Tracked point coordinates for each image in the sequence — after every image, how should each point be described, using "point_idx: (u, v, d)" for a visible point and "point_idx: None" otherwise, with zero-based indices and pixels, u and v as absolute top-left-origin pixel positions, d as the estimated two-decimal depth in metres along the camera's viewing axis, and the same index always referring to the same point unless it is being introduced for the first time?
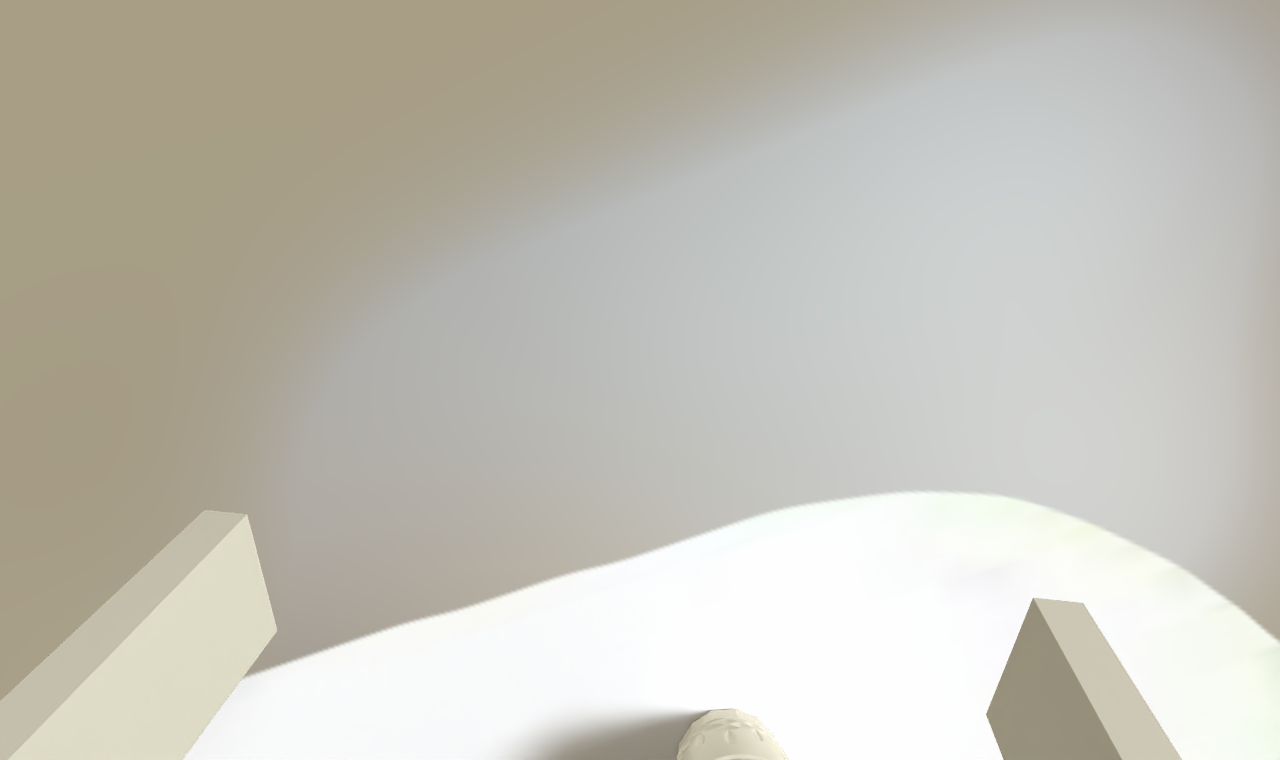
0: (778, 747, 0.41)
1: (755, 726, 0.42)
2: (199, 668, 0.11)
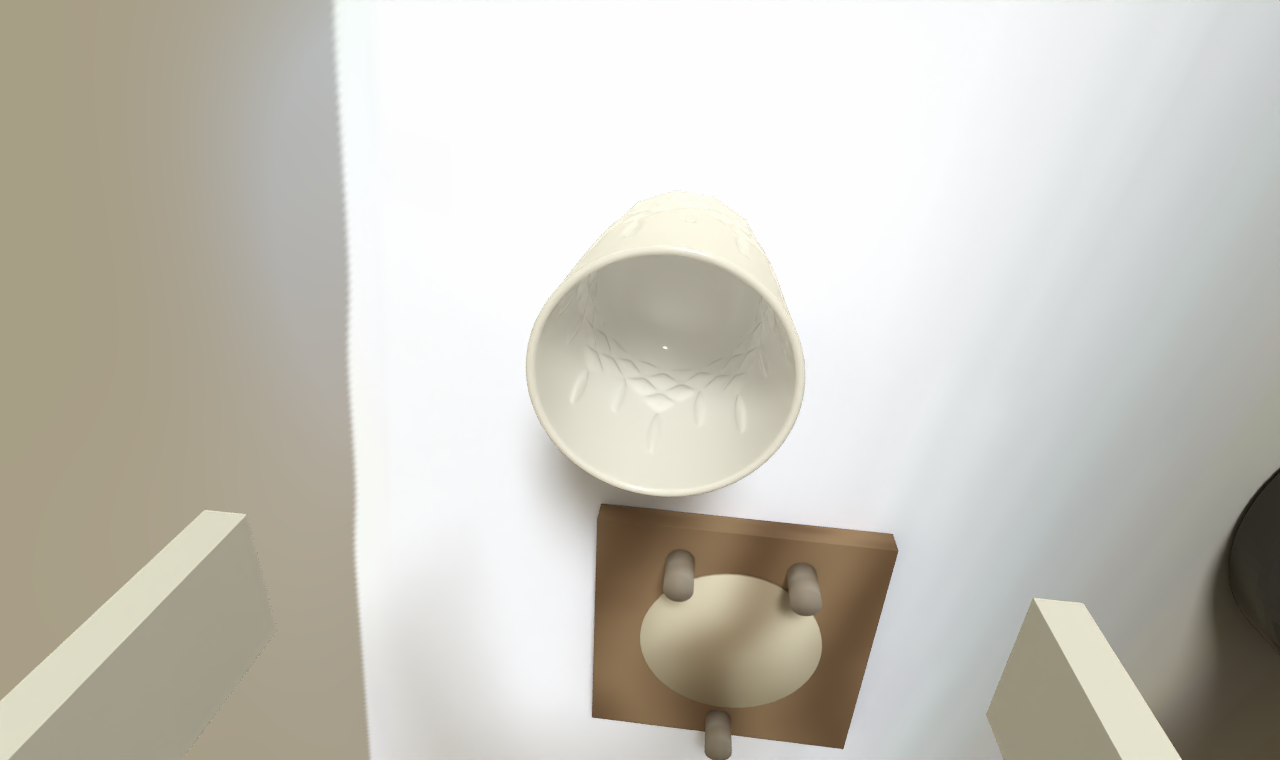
0: (641, 215, 0.23)
1: None
2: (199, 668, 0.11)
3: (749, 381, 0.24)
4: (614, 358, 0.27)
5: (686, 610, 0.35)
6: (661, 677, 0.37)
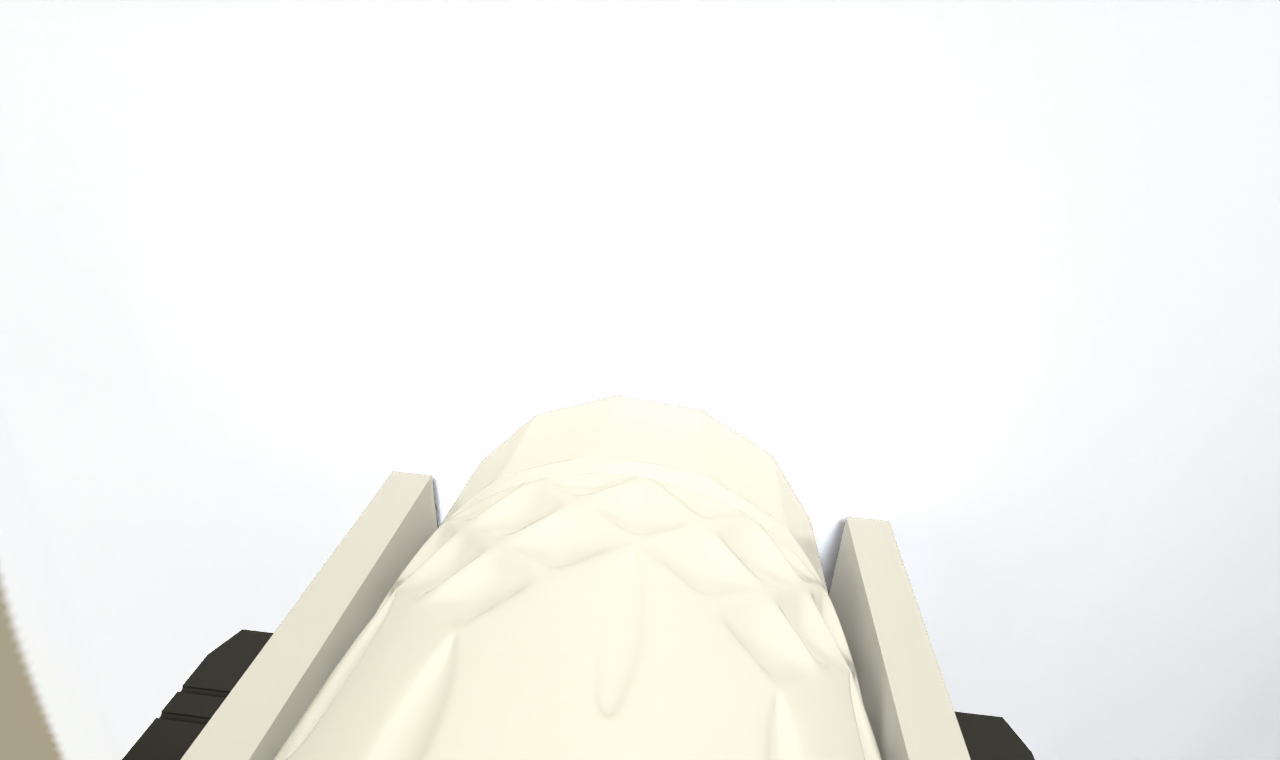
0: (492, 565, 0.08)
1: (445, 534, 0.10)
2: None
3: None
4: None
5: None
6: None
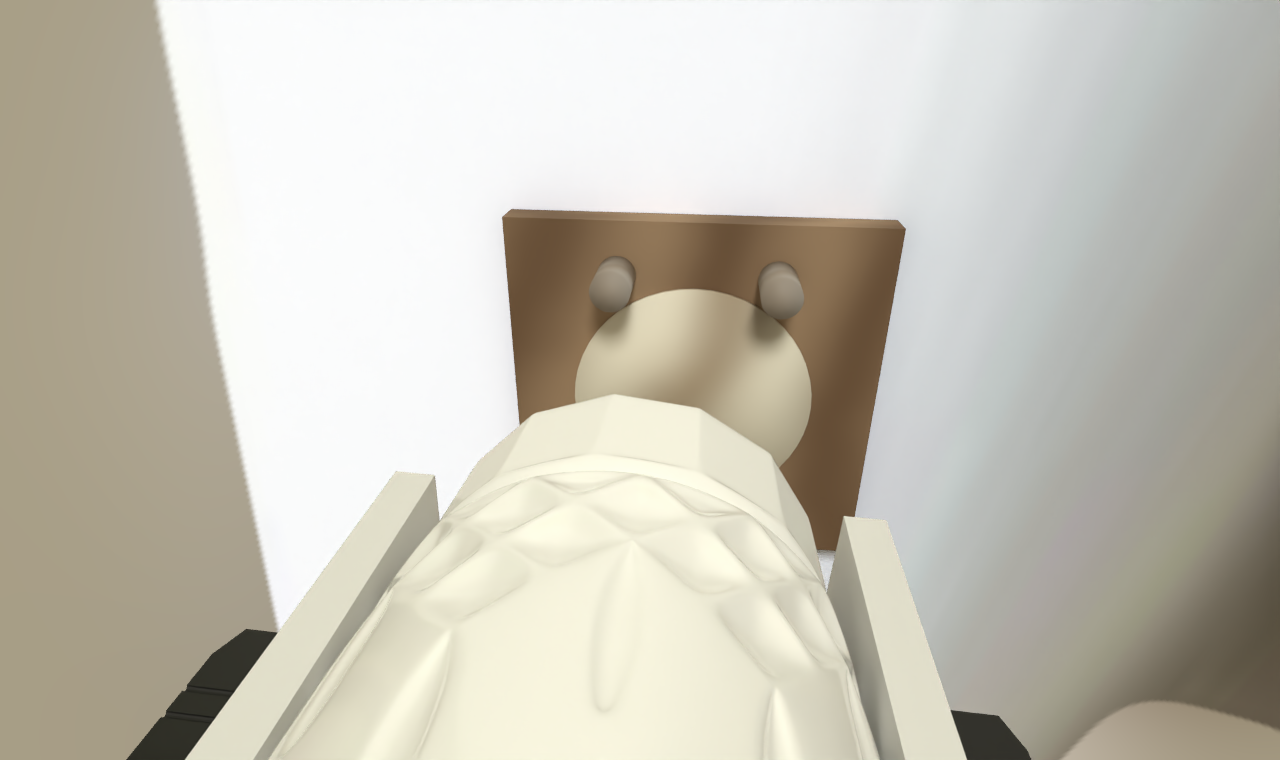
0: (489, 562, 0.08)
1: (442, 532, 0.10)
2: None
3: None
4: None
5: (631, 352, 0.27)
6: None
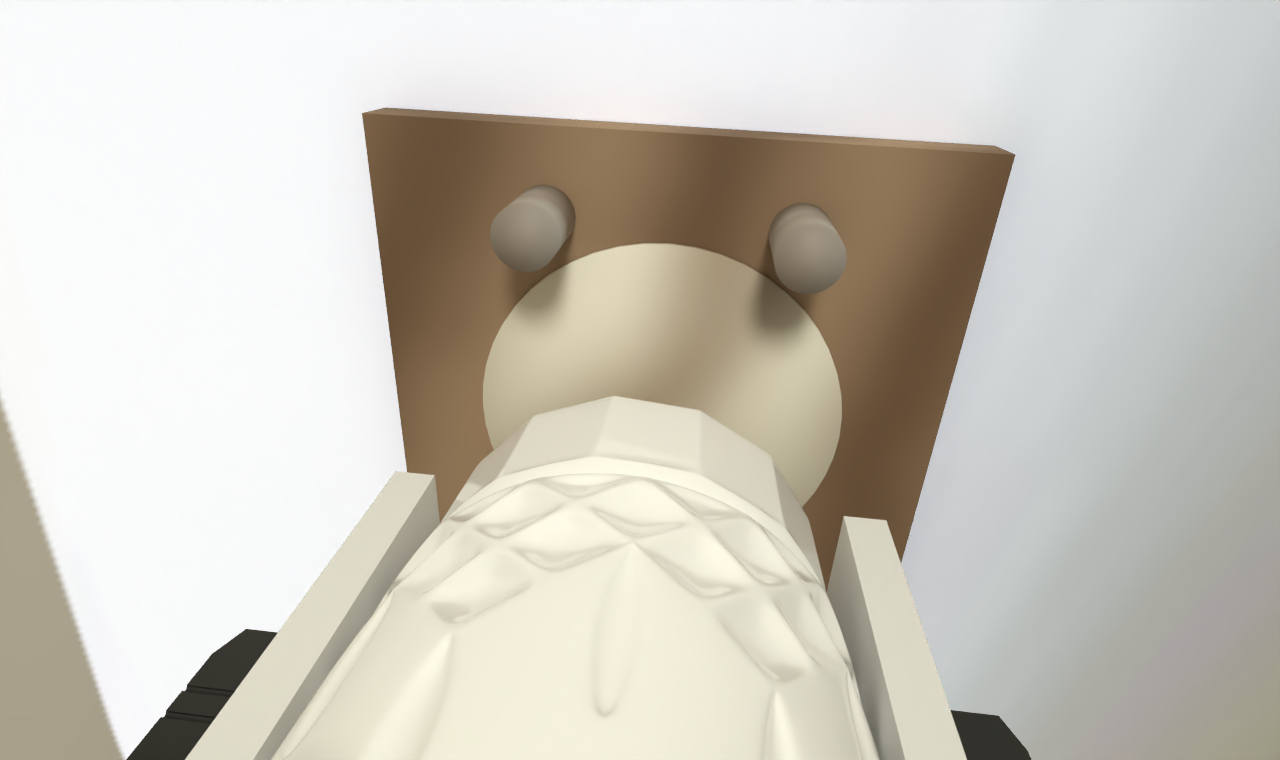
0: (489, 564, 0.08)
1: (443, 534, 0.10)
2: None
3: None
4: None
5: (567, 340, 0.17)
6: None
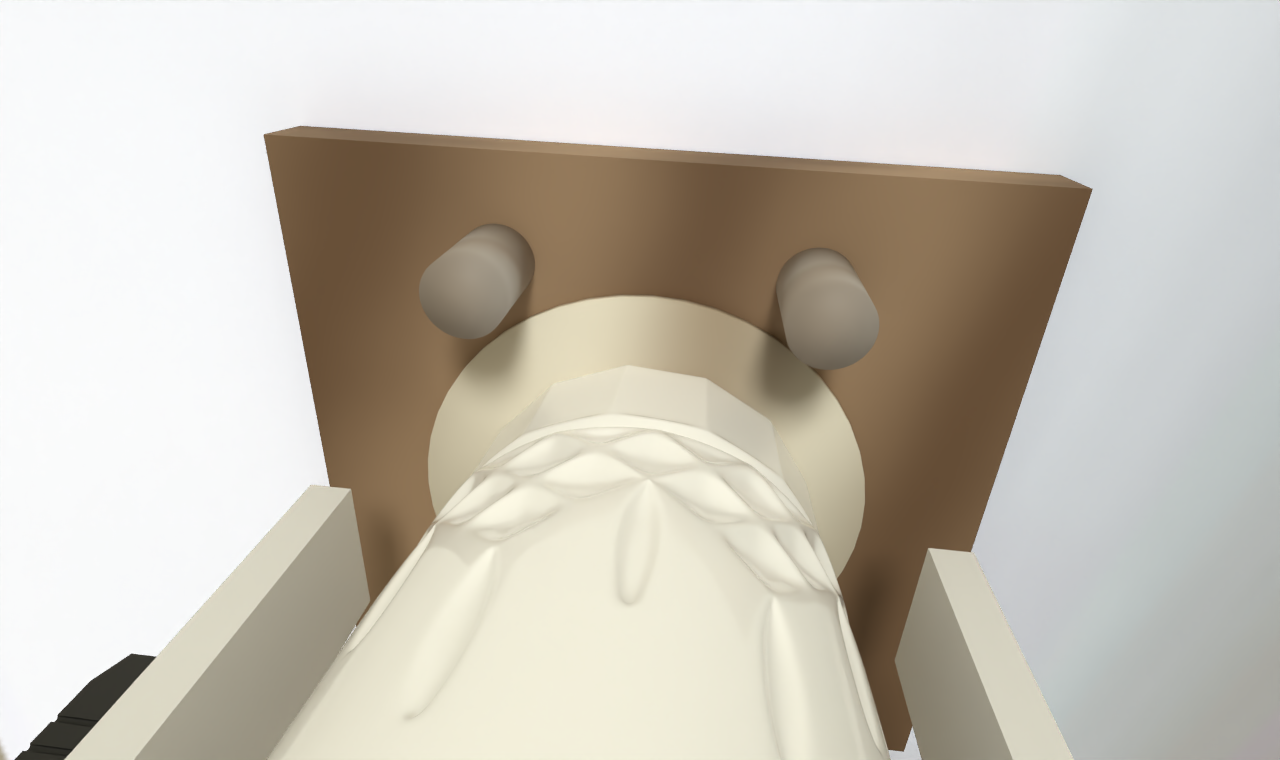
0: (522, 497, 0.09)
1: (476, 481, 0.11)
2: (314, 631, 0.12)
3: None
4: None
5: None
6: None
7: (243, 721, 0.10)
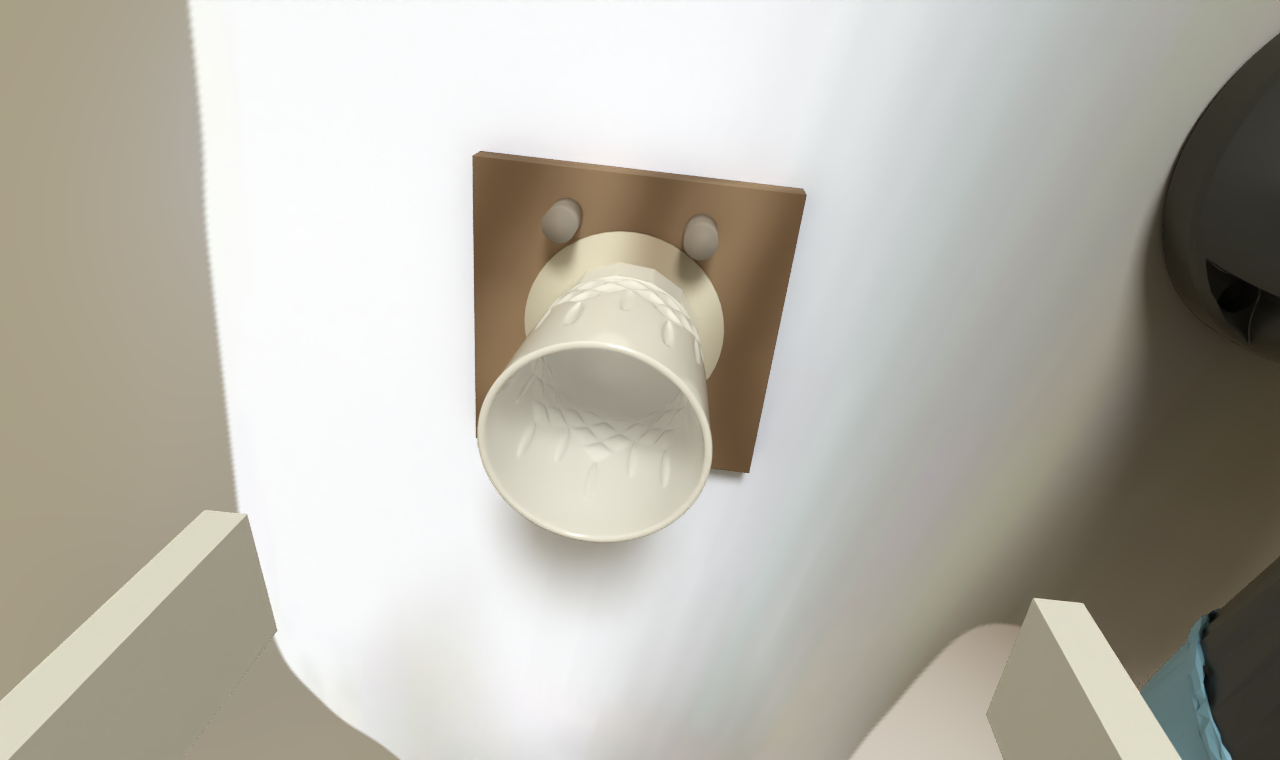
0: (586, 294, 0.26)
1: (562, 297, 0.28)
2: (199, 668, 0.11)
3: (675, 438, 0.28)
4: (561, 409, 0.30)
5: None
6: None
7: None
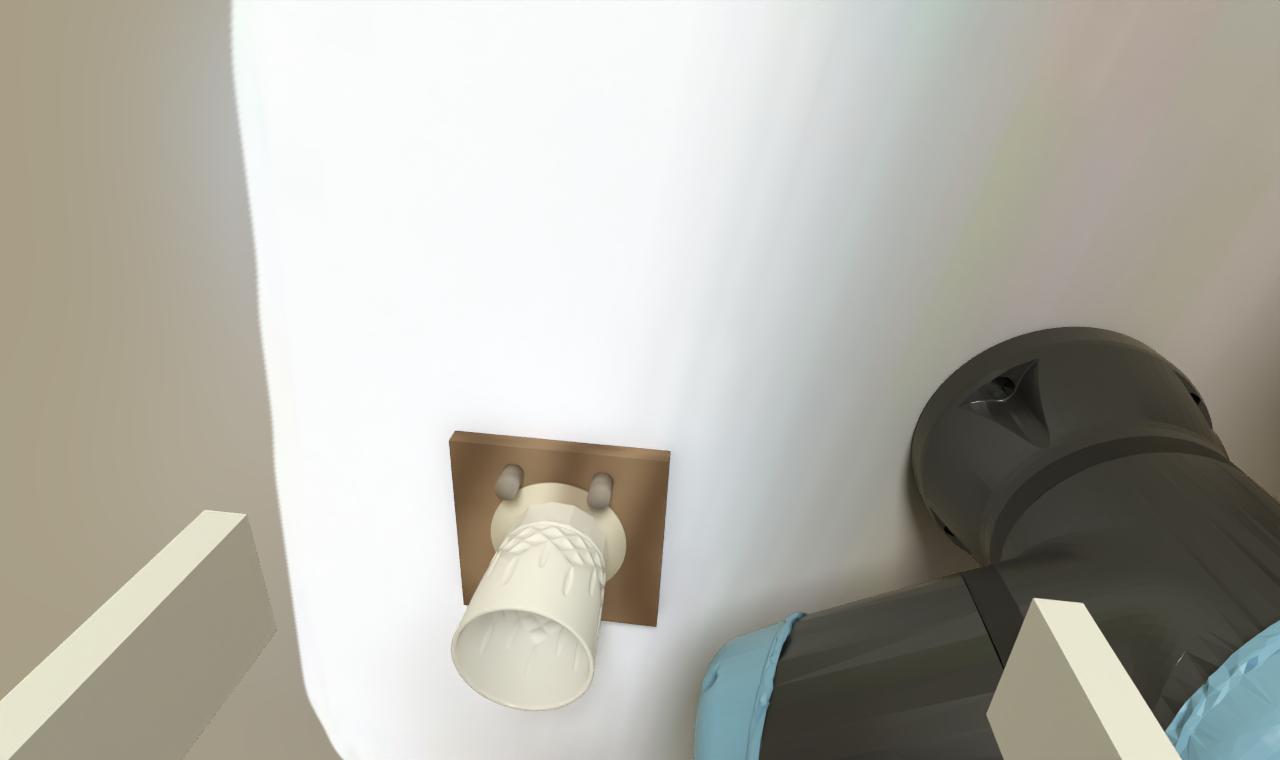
0: (521, 545, 0.41)
1: (509, 538, 0.43)
2: (199, 668, 0.11)
3: None
4: None
5: None
6: None
7: None
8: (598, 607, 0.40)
